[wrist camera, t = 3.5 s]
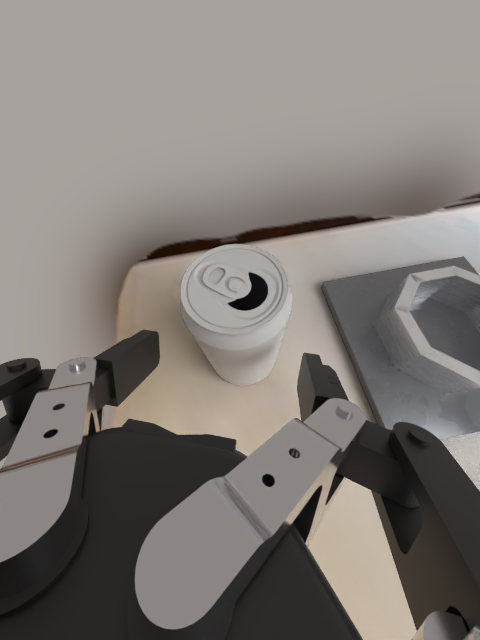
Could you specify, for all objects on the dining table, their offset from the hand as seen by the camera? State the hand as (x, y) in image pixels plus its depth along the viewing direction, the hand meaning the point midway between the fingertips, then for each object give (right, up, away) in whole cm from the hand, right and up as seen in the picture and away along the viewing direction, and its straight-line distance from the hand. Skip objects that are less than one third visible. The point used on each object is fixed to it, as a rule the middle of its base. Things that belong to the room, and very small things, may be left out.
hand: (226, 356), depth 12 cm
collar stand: (+19, 0, +10) cm, 21 cm away
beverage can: (+1, -1, +10) cm, 10 cm away
